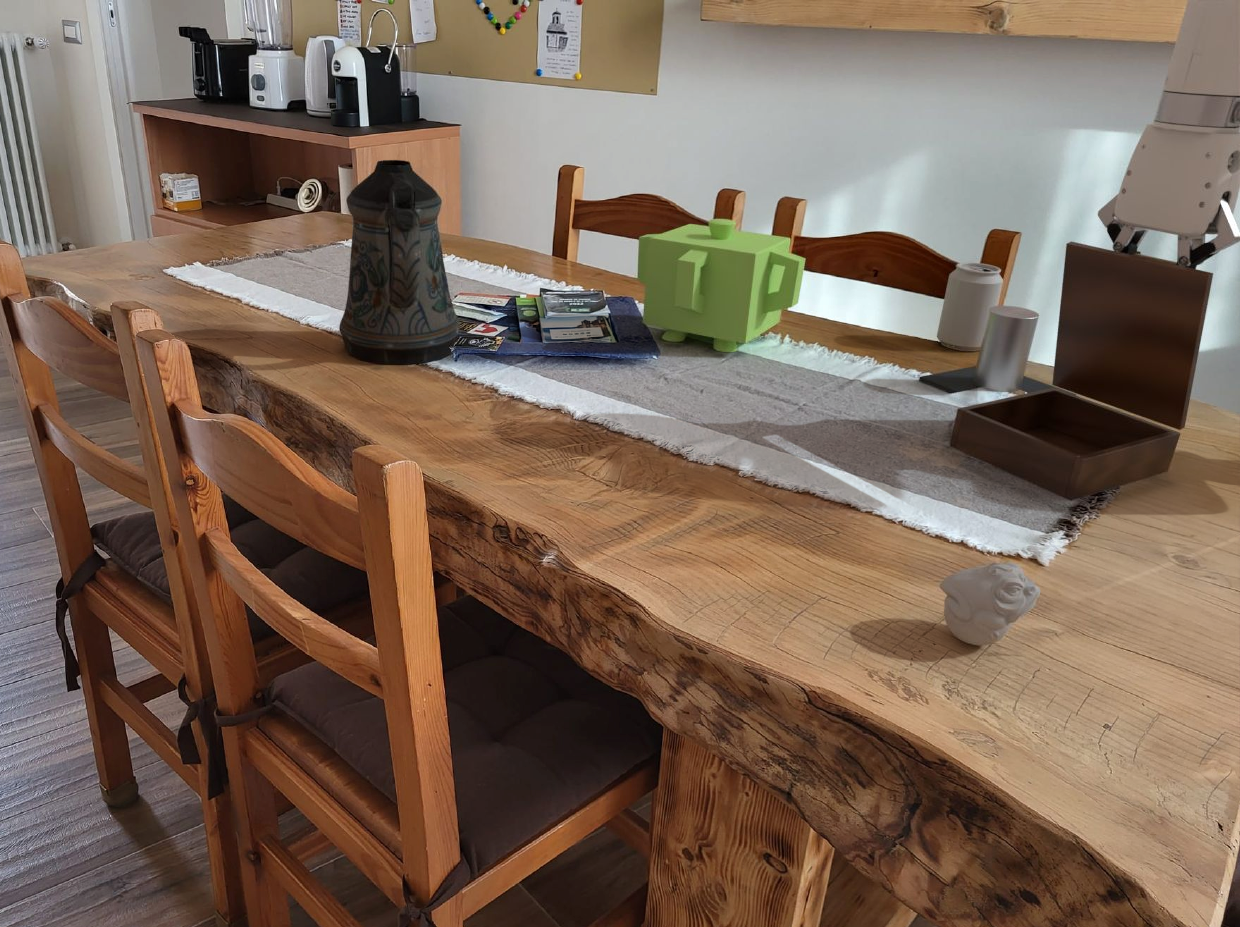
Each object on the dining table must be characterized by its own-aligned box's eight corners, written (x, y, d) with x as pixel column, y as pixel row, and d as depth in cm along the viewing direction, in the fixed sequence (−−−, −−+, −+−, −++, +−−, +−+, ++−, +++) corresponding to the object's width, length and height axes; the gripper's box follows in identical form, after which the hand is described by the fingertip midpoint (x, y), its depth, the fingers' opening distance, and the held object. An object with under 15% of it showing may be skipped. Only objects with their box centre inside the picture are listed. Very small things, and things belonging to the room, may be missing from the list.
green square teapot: (814, 334, 154) (832, 220, 146) (761, 372, 136) (777, 245, 129) (668, 307, 165) (677, 199, 157) (601, 339, 148) (608, 220, 140)
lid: (1208, 275, 97) (1239, 259, 98) (1066, 243, 109) (1095, 229, 110) (1179, 430, 106) (1208, 413, 108) (1052, 385, 118) (1079, 370, 120)
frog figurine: (1022, 672, 75) (1045, 593, 72) (925, 649, 77) (944, 571, 74) (1022, 632, 80) (1044, 556, 77) (932, 611, 82) (949, 537, 79)
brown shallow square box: (1069, 507, 101) (1083, 459, 99) (947, 452, 113) (957, 408, 111) (1165, 477, 109) (1181, 432, 107) (1042, 428, 121) (1053, 387, 119)
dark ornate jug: (415, 324, 151) (410, 150, 140) (496, 356, 139) (497, 168, 127) (318, 343, 141) (304, 157, 130) (396, 380, 128) (388, 178, 117)
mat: (987, 367, 142) (988, 363, 142) (1075, 398, 131) (1076, 394, 131) (918, 380, 136) (919, 376, 135) (1004, 414, 125) (1005, 410, 124)
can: (997, 348, 150) (1016, 268, 145) (967, 355, 146) (985, 274, 141) (955, 335, 156) (972, 258, 150) (925, 342, 152) (941, 263, 147)
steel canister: (992, 375, 137) (1009, 303, 132) (1030, 389, 132) (1049, 315, 128) (962, 381, 134) (979, 308, 130) (1000, 395, 129) (1018, 320, 125)
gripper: (1312, 122, 93) (1245, 312, 102) (1141, 105, 107) (1094, 274, 115) (1268, 123, 90) (1202, 320, 98) (1097, 105, 103) (1052, 280, 111)
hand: (1144, 294), depth 106 cm, fingers closed on lid, 5 cm apart
